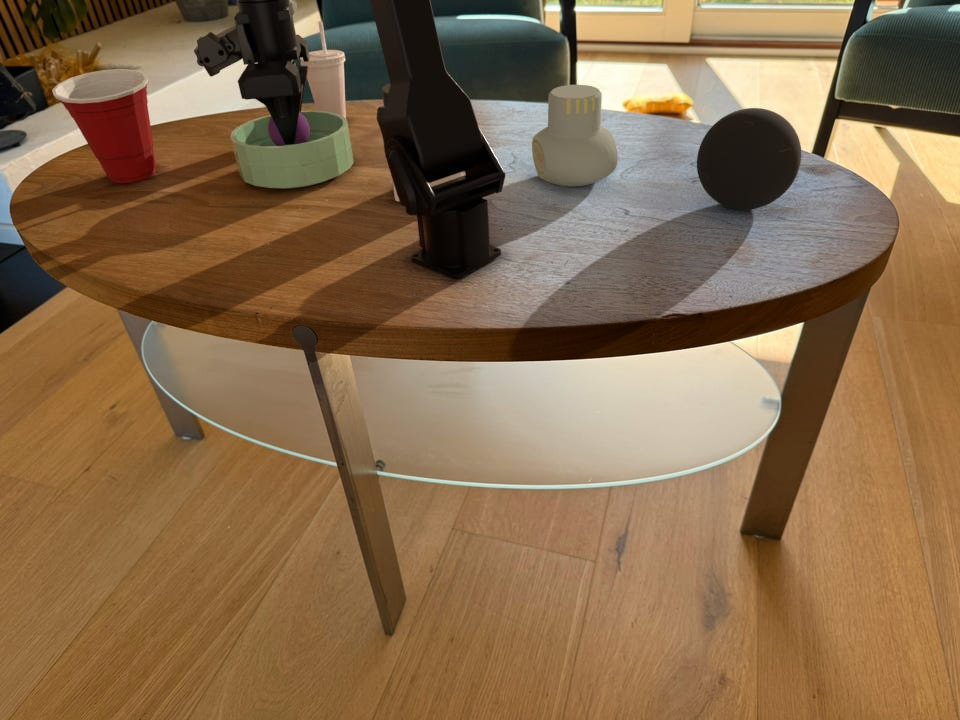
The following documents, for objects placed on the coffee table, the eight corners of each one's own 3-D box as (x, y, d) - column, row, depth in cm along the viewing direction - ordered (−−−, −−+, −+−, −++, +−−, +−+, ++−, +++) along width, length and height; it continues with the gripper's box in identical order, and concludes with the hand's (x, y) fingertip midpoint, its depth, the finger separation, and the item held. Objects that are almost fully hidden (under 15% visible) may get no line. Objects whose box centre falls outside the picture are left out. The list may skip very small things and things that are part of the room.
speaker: (702, 182, 81) (714, 92, 75) (795, 194, 77) (816, 99, 71) (681, 217, 74) (693, 120, 68) (783, 232, 70) (805, 130, 64)
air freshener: (620, 192, 80) (627, 101, 74) (549, 200, 79) (549, 109, 73) (593, 158, 89) (597, 75, 83) (529, 165, 88) (528, 82, 82)
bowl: (376, 165, 91) (370, 122, 88) (284, 202, 83) (274, 156, 79) (310, 144, 99) (302, 104, 96) (220, 176, 91) (208, 133, 87)
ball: (321, 147, 89) (313, 107, 86) (288, 159, 86) (279, 117, 83) (298, 140, 92) (290, 100, 89) (265, 151, 89) (255, 110, 86)
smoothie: (346, 130, 103) (329, 26, 95) (305, 129, 104) (285, 26, 96) (360, 116, 108) (346, 16, 100) (321, 116, 109) (303, 17, 101)
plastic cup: (83, 198, 87) (43, 97, 80) (92, 169, 95) (56, 75, 88) (176, 183, 89) (145, 84, 82) (177, 156, 98) (148, 64, 91)
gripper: (204, -9, 86) (237, 121, 95) (170, 19, 71) (212, 170, 80) (297, -16, 87) (320, 113, 96) (282, 11, 72) (312, 161, 81)
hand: (291, 137), depth 88 cm, fingers closed on ball, 5 cm apart
